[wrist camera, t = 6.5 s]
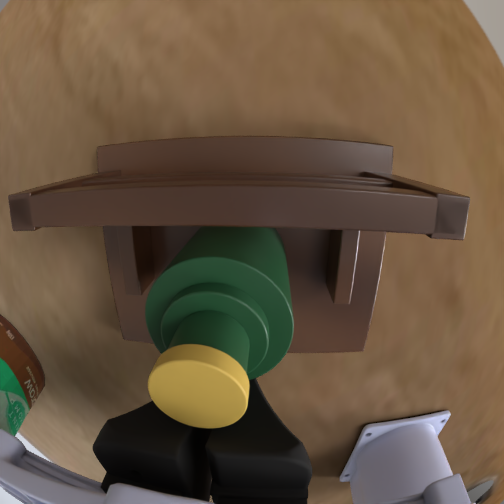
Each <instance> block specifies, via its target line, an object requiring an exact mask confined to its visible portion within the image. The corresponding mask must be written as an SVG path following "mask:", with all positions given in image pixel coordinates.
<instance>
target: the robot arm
mask: <svg viewBox="0 0 504 504" xmlns="http://www.w3.org/2000/svg"><path fill="white" fill-rule="evenodd" d="M249 385H250V387H249V397H248V406H247V409H246V411H245V413H244V415H243V416H242V417H241V418H240V419H239V420H238V421H236V422H235V423H233V424H230V425H228V426H225V427H220V428H199V427H193V426H189V425H186V424H183V423H181V422H178V421H176V420H174V419H173V418H171V417H169V416H168V415H166V414H165V413H164V412H163V411H161V410H160V409H159V408H158V407H157V405H156V404H155V403H154V402H153V401H151V402H149V403H147V404H145V405H144V406H142V407H140V408H137V409H135V410H133V411H131V412H128V413H126V414H123V415H120V416H118V417H115V418H112V419H109V420H107V422H106V423H105V425H104V426H103V428H102V429H101V431H100V433H99V435H98V437H97V439H96V440H95V442H94V444H93V451H94V453H95V455H96V457H97V459H98V460H99V462H100V463H101V464H102V466H103V467H104V469H105V470H106V472H107V473H106V475H105V477H104V480H103V482H102V483H100V482H97V481H95V480H92V479H89V478H87V477H84V476H82V475H79V474H77V473H74V472H72V471H69V470H67V469H65V468H62V467H60V466H58V465H56V464H54V463H52V462H49V461H47V460H45V459H43V458H41V457H39V456H37V455H35V454H34V453H31V452H29V451H28V450H26V448H25V446H24V445H23V443H22V442H21V441H20V440H19V439H17V438H16V437H15V436H13V435H11V434H10V433H8V432H6V431H5V430H3V429H0V486H1V487H2V488H3V489H4V490H5V491H6V492H8V493H9V494H11V495H12V496H14V497H15V498H16V499H18V500H19V501H21V502H22V503H24V504H307V498H308V485H309V482H310V480H311V477H312V467H311V463H310V459H309V457H308V454H307V452H306V450H305V447H304V445H303V443H302V442H301V441H300V440H299V439H298V438H297V437H296V436H295V435H294V434H293V433H292V432H291V431H290V430H289V429H288V428H287V427H286V426H285V425H284V424H283V422H282V421H281V420H280V419H279V417H278V416H277V415H276V413H275V412H274V411H273V409H272V408H271V406H270V405H269V403H268V401H267V400H266V398H265V396H264V394H263V393H262V391H261V388H260V386H259V384H258V382H257V380H256V378H254V379H251V380H249ZM450 415H451V414H450V412H449V411H448V410H447V411H442V412H438V413H433V414H428V415H423V416H418V417H413V418H407V419H401V420H395V421H388V422H381V423H373V424H368V425H366V426H365V427H364V428H363V430H362V432H361V435H360V437H359V439H358V441H357V443H356V446H355V448H354V450H353V452H352V454H351V456H350V458H349V460H348V462H347V464H346V466H345V468H344V470H343V472H342V474H341V476H340V481H341V482H346V481H350V486H351V492H352V499H353V504H471V502H470V499H469V497H468V494H467V492H466V489H465V486H464V484H463V481H462V479H461V476H460V474H455V475H453V474H452V471H451V469H450V466H449V464H448V461H447V459H446V456H445V454H444V451H443V449H442V447H441V444H440V442H439V440H438V437H437V435H438V434H439V432H440V431H441V429H442V428H443V426H444V425H445V423H446V422H447V420H448V418H449V417H450ZM211 480H212V482H211ZM210 495H211V496H212V499H213V503H212V502H209V499H210ZM472 504H476V503H472Z"/></svg>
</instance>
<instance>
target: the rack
mask: <svg viewBox="0 0 504 504" xmlns="http://www.w3.org/2000/svg"><path fill="white" fill-rule="evenodd" d="M97 159H98V173H95V174H90V175H85V176H81V177H76V178H72V179H68V180H63V181H59V182H55V183H51V184H47V185H43V186H40V187H36V188H32V189H29V190H25V191H22V192H18V193H15V194H11V195H9V196H8V199H9V207H10V215H11V222H12V228H13V231H35V230H37V229H39V228H41V227H74V226H103V232H104V240H105V247H106V254H107V261H108V267H109V273H110V279H111V284H112V289H113V294H114V299H115V304H116V309H117V314H118V318H119V322H120V327H121V331H122V335H123V339H124V340H131V341H138V342H145V343H153V344H154V342H153V341H152V339H151V337H150V334H149V332H148V328H147V325H146V318H145V305H146V300H147V296H148V293H149V291H150V289H151V287H152V285H153V283H154V282H155V281H156V279H157V278H158V277H159V276H160V275H161V273H162V272H163V271H164V270H165V269H166V267H167V266H168V265H169V264H170V263H171V261H172V260H173V259H174V258H175V257H176V255H177V254H178V253H179V252H180V251H181V250H182V248H183V247H184V246H185V245H186V244H187V243H188V241H189V240H190V239H191V238H192V237H193V236H194V235H195V233H196V232H197V231H198V230H199V229H200V228H201V227H202V226H219V227H268V228H275V229H276V230H277V232H278V233H279V235H280V236H281V239H282V241H283V244H284V247H285V253H286V261H287V268H288V276H289V284H290V293H291V301H292V310H293V319H294V333H293V338H292V342H291V344H290V347H289V349H288V351H287V353H329V352H359V351H364V348H365V344H366V340H367V336H368V331H369V327H370V323H371V318H372V314H373V309H374V304H375V299H376V294H377V289H378V283H379V278H380V272H381V266H382V259H383V253H384V246H385V239H386V232H396V233H415V234H425V235H427V236H428V237H430V238H434V239H451V240H464V236H465V230H466V224H467V218H468V211H469V203H470V198H469V197H467V196H464V195H461V194H458V193H455V192H452V191H449V190H445V189H442V188H439V187H435V186H432V185H429V184H425V183H422V182H418V181H415V180H411V179H407V178H404V177H400V176H396V175H392V164H393V146H390V145H382V144H374V143H366V142H356V141H346V140H335V139H321V138H305V137H281V136H214V137H190V138H174V139H161V140H149V141H139V142H130V143H121V144H113V145H106V146H99V147H97Z"/></svg>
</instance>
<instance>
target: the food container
mask: <svg viewBox="0 0 504 504" xmlns="http://www.w3.org/2000/svg"><path fill="white" fill-rule="evenodd" d="M44 386H45V378H44V374H43V371H42V368H41V366H40V363H39V361H38V359H37V358H36V356H35V354H34V352H33V351H32V349H31V348H30V346H29V345H28V343H27V342H26V341H25V339H24V338H23V337H22V336H21V334H20V333H19V332H18V331H17V330H16V329H15V328H14V326H13V325H12V324H11V323H10V322H8V321H7V320H6V319H5V318H4V317H3V316H1V315H0V429H3V430H5V431H6V432H8V433H10V434H11V435H13V436H15V435H16V433H17V432H18V430H19V428H20V426H21V424H22V423H23V421H24V419H25V417H26V416H27V414H28V412H29V410H30V409H31V407H32V405H33V404H34V402H35V400H36V399H37V397H38V396H39V394H40V392H41V391H42V389H43V387H44Z"/></svg>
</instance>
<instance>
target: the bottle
mask: <svg viewBox="0 0 504 504" xmlns="http://www.w3.org/2000/svg"><path fill="white" fill-rule="evenodd" d="M145 318H146V325H147V328H148V332H149V334H150V337H151V339H152V341H153V342H154V344H155V346H156V347H157V349H158V350H159V351H160V353H161V355H160V356H159V358H158V359H157V361H156V363H155V365H154V367H153V369H152V371H151V373H150V375H149V378H148V390H149V394H150V396H151V398H152V400H153V402H154V403H155V404H156V405H157V407H158V408H159V409H160V410H161V411H163V412H164V413H165V414H166V415H168V416H169V417H171V418H173V419H174V420H176V421H178V422H181V423H183V424H186V425H189V426H193V427H199V428H220V427H225V426H228V425H230V424H233V423H235V422H236V421H238V420H239V419H240V418H241V417H242V416H243V415H244V413H245V411H246V409H247V406H248V397H249V387H250V385H249V380H251V379H254V378H257V377H259V376H261V375H263V374H265V373H267V372H268V371H270V370H271V369H272V368H274V367H275V366H276V365H277V364H278V363H279V362H280V361H281V360H282V358H283V357H284V356H285V354H286V353H287V351H288V349H289V347H290V344H291V342H292V338H293V333H294V319H293V310H292V301H291V293H290V284H289V276H288V268H287V261H286V253H285V247H284V244H283V241H282V239H281V236H280V235H279V233H278V232H277V230H276V229H275V228H268V227H219V226H202V227H201V228H200V229H199V230H198V231H197V232H196V233H195V235H194V236H193V237H192V238H191V239H190V240H189V241H188V243H187V244H186V245H185V246H184V247H183V248H182V250H181V251H180V252H179V253H178V254H177V255H176V257H175V258H174V259H173V260H172V261H171V263H170V264H169V265H168V266H167V267H166V269H165V270H164V271H163V272H162V273H161V275H160V276H159V277H158V278H157V279H156V281H155V282H154V283H153V285H152V287H151V289H150V291H149V293H148V296H147V300H146V305H145Z"/></svg>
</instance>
